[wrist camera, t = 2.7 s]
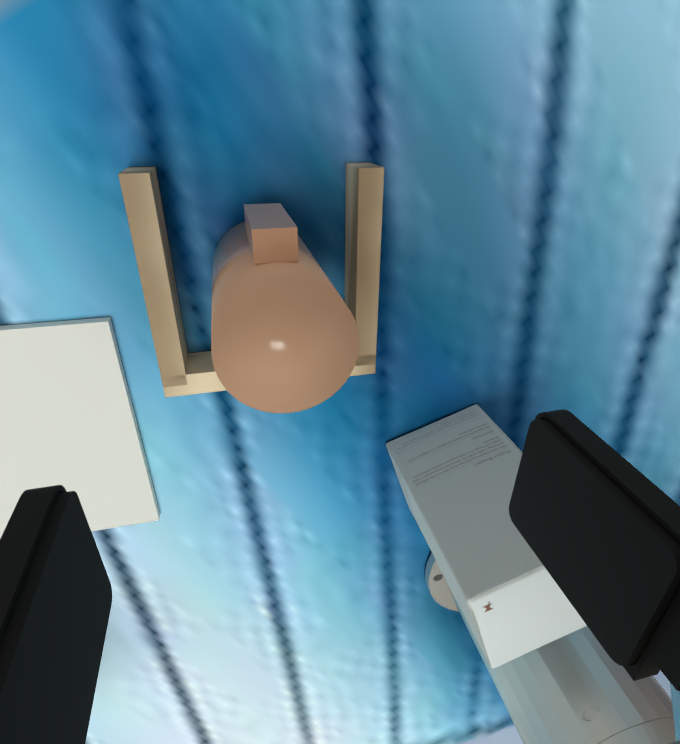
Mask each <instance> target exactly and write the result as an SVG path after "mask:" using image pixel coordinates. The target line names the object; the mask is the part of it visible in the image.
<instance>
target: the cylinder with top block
mask: <svg viewBox="0 0 680 744" xmlns="http://www.w3.org/2000/svg"><path fill="white" fill-rule="evenodd" d="M244 215H245V221H244V222H241V223H239V224H237V225H235V226H234V227H232V228H231V229H230V230H228V231H227V232H226V233H225V234H224V235H223V237H222V238H221V239H220V241H219V242H218V244H217V246H216V249H215V251H214V255H213V260H212V325H211V353H212V361H213V366H214V369H215V372H216V374H217V376H218V378H219V380H220V382H221V383H222V385H223V386H224V387H225V389H226V390H227V391H228V392H229V393H230V394H231V395H232V396H233V397H235V398H236V399H237V400H239V401H240V402H242V403H244V404H245V405H247V406H249V407H252V408H254V409H257V410H261V411H265V412H271V413H292V412H297V411H302V410H305V409H309V408H311V407H313V406H316V405H318V404H320V403H322V402H323V401H325V400H327V399H328V398H329V397H331V396H332V395H333V394H335V393H336V392H337V391H338V390H339V389H340V388H341V387H342V386H343V384H344V383H345V382H346V381H347V379H348V378H349V376H350V374H351V373H352V371H353V369H354V366H355V364H356V361H357V357H358V353H359V333H358V328H357V324H356V322H355V319H354V317H353V315H352V313H351V311H350V310H349V308H348V307H347V305H346V304H345V302H344V301H343V299H342V298H341V296H340V295H339V293H338V292H337V290H336V289H335V287H334V286H333V284H332V283H331V282H330V280H329V279H328V277H327V276H326V274H325V273H324V271H323V270H322V268H321V267H320V265H319V264H318V262H317V261H316V259H315V258H314V256H313V255H312V254H311V252H310V251H309V249H308V248H307V246H306V245H305V243H304V242H303V240H302V239H301V238H300V236H299V235H298V229H297V226H296V225H295V223H294V222H293V220H292V219H291V217H290V216H289V215H288V213H287V212H286V210H285V209H284V208H283V206H282V205H281V203H269V204H244Z"/></svg>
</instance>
